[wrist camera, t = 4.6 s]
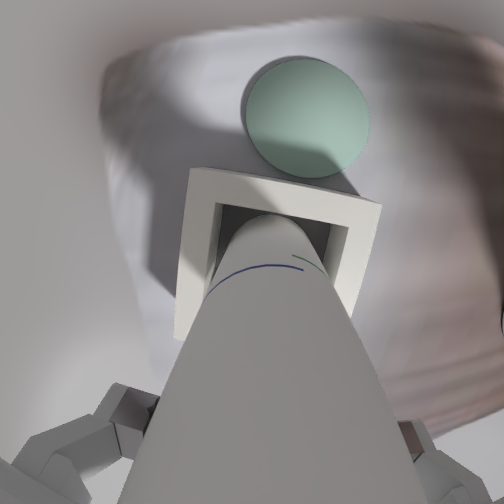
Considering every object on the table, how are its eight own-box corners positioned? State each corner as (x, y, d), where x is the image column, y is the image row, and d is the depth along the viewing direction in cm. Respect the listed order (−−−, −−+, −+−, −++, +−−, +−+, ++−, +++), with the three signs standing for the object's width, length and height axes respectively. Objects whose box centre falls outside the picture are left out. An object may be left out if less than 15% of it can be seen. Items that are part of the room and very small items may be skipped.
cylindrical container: (231, 210, 25) (5, 564, 1) (317, 219, 25) (536, 549, 1) (225, 290, 27) (130, 607, 3) (305, 298, 27) (366, 616, 3)
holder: (360, 196, 24) (382, 204, 19) (324, 332, 27) (333, 364, 23) (205, 166, 24) (190, 167, 19) (187, 310, 27) (173, 338, 23)
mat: (374, 78, 21) (376, 76, 20) (356, 189, 24) (358, 189, 23) (257, 52, 21) (257, 49, 20) (236, 165, 24) (235, 165, 23)
